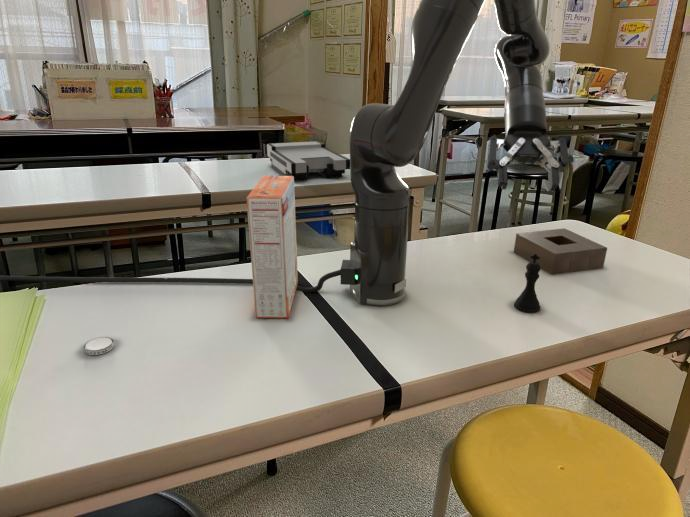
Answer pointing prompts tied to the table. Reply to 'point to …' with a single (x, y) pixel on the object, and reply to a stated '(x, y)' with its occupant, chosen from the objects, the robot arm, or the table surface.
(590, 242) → the pad block
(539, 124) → the robot arm
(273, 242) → the cracker box
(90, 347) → the silver round flat disc
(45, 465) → the table surface
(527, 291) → the chess piece
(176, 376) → the table surface
